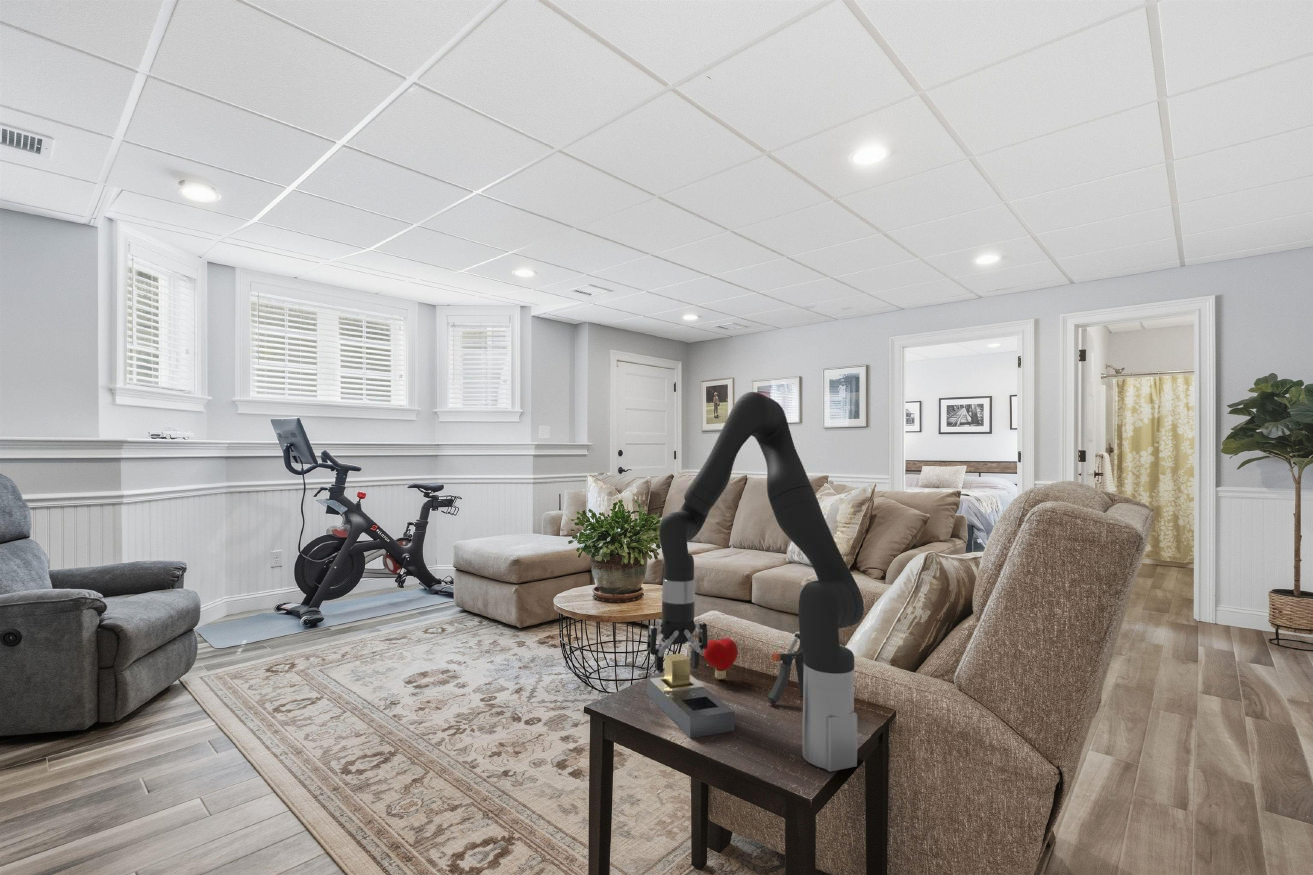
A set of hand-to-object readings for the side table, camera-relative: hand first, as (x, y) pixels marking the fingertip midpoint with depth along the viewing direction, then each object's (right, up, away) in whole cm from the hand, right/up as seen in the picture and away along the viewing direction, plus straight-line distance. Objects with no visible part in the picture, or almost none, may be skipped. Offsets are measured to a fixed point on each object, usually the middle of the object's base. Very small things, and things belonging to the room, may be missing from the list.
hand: (677, 669), depth 141 cm
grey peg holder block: (+2, -7, -6) cm, 9 cm away
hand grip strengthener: (+26, -8, +2) cm, 27 cm away
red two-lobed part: (+11, -8, +14) cm, 20 cm away
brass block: (0, -7, 0) cm, 7 cm away
